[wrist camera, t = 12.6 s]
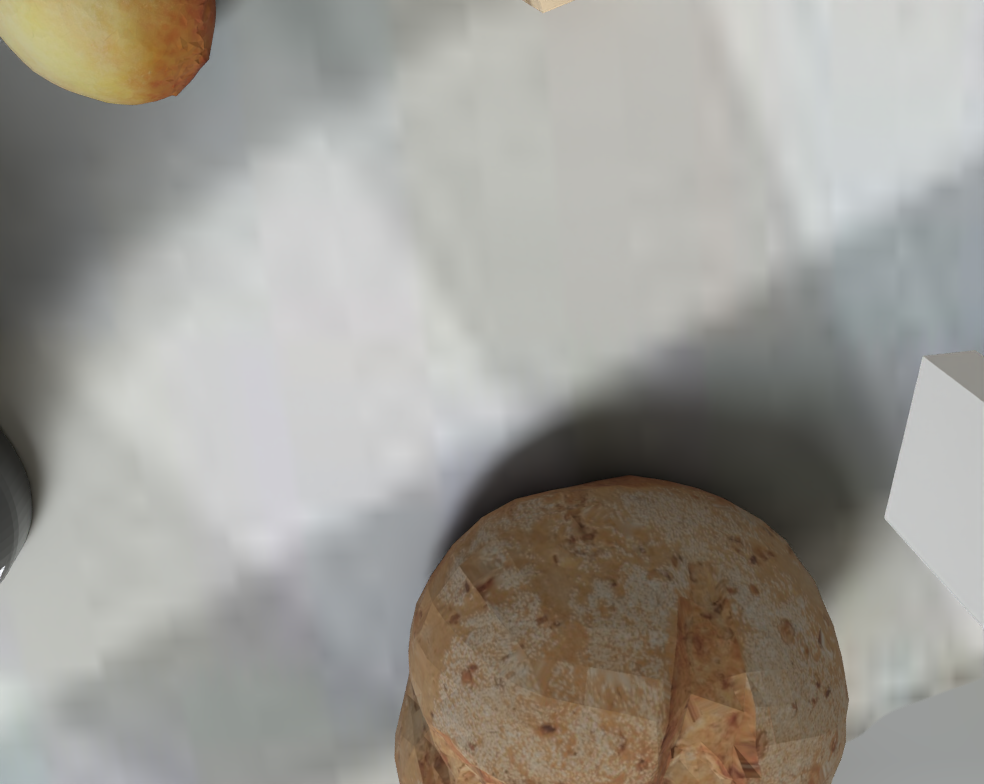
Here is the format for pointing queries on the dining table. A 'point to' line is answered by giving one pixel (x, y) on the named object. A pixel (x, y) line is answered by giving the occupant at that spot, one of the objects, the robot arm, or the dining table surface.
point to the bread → (621, 648)
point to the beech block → (546, 4)
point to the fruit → (112, 44)
